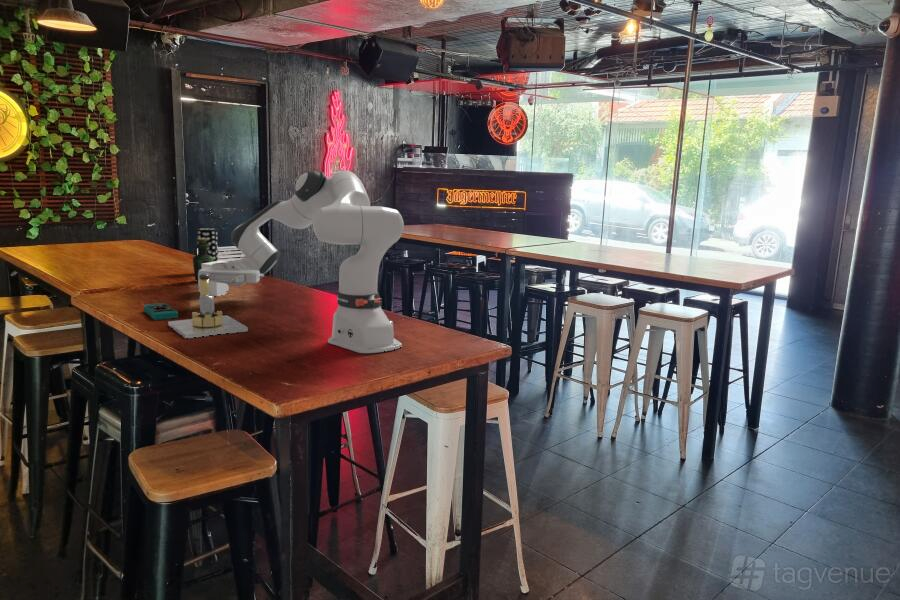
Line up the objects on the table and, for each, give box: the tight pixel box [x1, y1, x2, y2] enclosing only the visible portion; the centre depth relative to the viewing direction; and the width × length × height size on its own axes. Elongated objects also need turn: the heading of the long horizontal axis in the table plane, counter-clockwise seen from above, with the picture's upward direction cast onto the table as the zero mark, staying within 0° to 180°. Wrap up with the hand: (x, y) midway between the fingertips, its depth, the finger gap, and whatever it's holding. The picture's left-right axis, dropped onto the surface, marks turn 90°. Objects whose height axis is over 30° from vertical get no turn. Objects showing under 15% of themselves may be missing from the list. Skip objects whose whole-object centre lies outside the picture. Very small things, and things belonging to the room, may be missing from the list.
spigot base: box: [167, 295, 249, 340], centre depth 195 cm, size 20×18×10 cm
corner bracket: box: [197, 260, 229, 297], centre depth 246 cm, size 11×11×12 cm
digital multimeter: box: [143, 302, 179, 321], centre depth 209 cm, size 7×15×3 cm, turn 37°
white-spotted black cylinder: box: [196, 227, 219, 262], centre depth 287 cm, size 8×8×20 cm
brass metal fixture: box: [191, 274, 224, 327], centre depth 196 cm, size 14×8×14 cm, turn 24°
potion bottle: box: [192, 238, 213, 281], centre depth 268 cm, size 8×8×18 cm
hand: (220, 279), depth 212 cm, fingers open, 8 cm apart
